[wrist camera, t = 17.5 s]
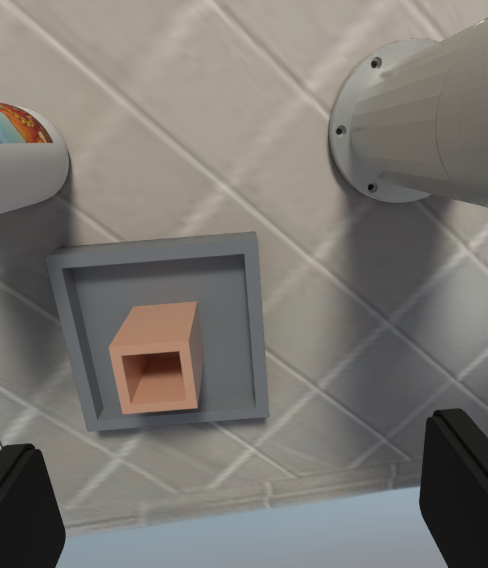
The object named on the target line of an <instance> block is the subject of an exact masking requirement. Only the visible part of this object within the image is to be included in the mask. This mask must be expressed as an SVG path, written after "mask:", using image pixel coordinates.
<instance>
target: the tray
mask: <svg viewBox="0 0 488 568" xmlns="http://www.w3.org/2000/svg"><path fill="white" fill-rule="evenodd" d="M44 258H45V262H46V266H47V270H48V274H49V278H50V282H51V286H52V290H53V294H54V298H55V302H56V306H57V310H58V314H59V318H60V322H61V326H62V331H63V335H64V339H65V343H66V347H67V351H68V355H69V359H70V363H71V367H72V371H73V375H74V379H75V383H76V387H77V391H78V395H79V399H80V403H81V407H82V411H83V415H84V419H85V423H86V427H87V431H88V432H90V431H102V430H114V429H126V428H139V427H151V426H163V425H175V424H188V423H200V422H212V421H224V420H237V419H249V418H261V417H269V408H268V393H267V377H266V362H265V347H264V332H263V316H262V301H261V286H260V270H259V255H258V240H257V235H256V232H244V233H232V234H219V235H207V236H195V237H182V238H170V239H157V240H145V241H132V242H120V243H107V244H95V245H82V246H70V247H58V248H57V249H55V250H53V251H52V252H50V253H48V254H47V255H45V256H44ZM196 301H197V303H198V312H199V320H200V328H201V336H202V344H203V352H204V363H203V371H202V378H201V386H200V394H199V401H198V408H192V409H180V410H168V411H156V412H143V413H131V414H122V409H121V404H120V400H119V395H118V390H117V385H116V380H115V376H114V371H113V366H112V361H111V357H110V352H109V346H110V344H111V342H112V341H113V339H114V338H115V336H116V334H117V333H118V331H119V329H120V328H121V326H122V324H123V323H124V321H125V320H126V318H127V316H128V315H129V313H130V311H131V310H132V308H133V307H135V306H147V305H159V304H172V303H184V302H196Z"/></svg>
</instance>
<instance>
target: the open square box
mask: <svg viewBox="0 0 488 568" xmlns="http://www.w3.org/2000/svg"><path fill="white" fill-rule="evenodd" d="M109 352H110V357H111V361H112V366H113V371H114V376H115V380H116V385H117V390H118V395H119V400H120V404H121V409H122V414H131V413H143V412H156V411H168V410H180V409H192V408H198V401H199V394H200V386H201V378H202V371H203V363H204V352H203V344H202V336H201V328H200V320H199V312H198V303H197V301H196V302H184V303H172V304H159V305H147V306H135V307H133V308H132V310H131V311H130V313H129V315H128V316H127V318H126V320H125V321H124V323H123V324H122V326H121V328H120V329H119V331H118V333H117V334H116V336H115V338H114V339H113V341H112V342H111V344H110V346H109Z"/></svg>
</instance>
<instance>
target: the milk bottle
mask: <svg viewBox="0 0 488 568" xmlns="http://www.w3.org/2000/svg"><path fill="white" fill-rule="evenodd" d="M68 169H69V157H68V152H67V148H66V145H65V143H64V140H63V138H62V137H61V135H60V133H59V132H58V130H57V129H56V128H55V127H54V126H53V124H52V123H51V122H49V121H48V120H47V119H46V118H45V117H43V116H42V115H40V114H38V113H37V112H34V111H32V110H30V109H27V108H23V107H19V106H14V105H9V104H4V103H0V214H2V213H5V212H9V211H12V210H15V209H19V208H22V207H26V206H29V205H33V204H36V203H39V202H42V201H44V200H47V199H49V198H51V197H52V196H54V195H55V194H56V193H57V192H58V191H59V190H60V189H61V187H62V186H63V184H64V182H65V180H66V178H67V174H68Z"/></svg>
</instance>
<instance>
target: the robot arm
mask: <svg viewBox="0 0 488 568" xmlns="http://www.w3.org/2000/svg"><path fill="white" fill-rule="evenodd" d="M371 62H374V63H375V65H376V66H375V68H372V67H371ZM338 128H340V129H341V133H340V134H339V135H338V134H337V133H336V130H337V129H338ZM329 140H330V147H331V152H332V155H333V158H334V161H335V164H336V166H337V167H338V169H339V171H340V173H341V174H342V176H343V177H344V178H345V179H346V180H347V182H348V183H349V184H350V185H351V186H352V187H354V188H355V189H356V190H358V191H359V192H360V193H362V194H364V195H366V196H368V197H370V198H373V199H376V200H379V201H382V202H389V203H406V202H413V201H416V200H420V199H424V198H426V197H428V196H430V195H432V194H434V195H438V196H442V197H446V198H450V199H454V200H459V201H463V202H467V203H471V204H475V205H479V206H483V207H488V18H486V19H484V20H482V21H480V22H478V23H476V24H474V25H472V26H470V27H468V28H466V29H464V30H462V31H461V32H459V33H457V34H455V35H453V36H451V37H449V38H447V39H445V40H443V41H441V42H439V41H435V40H431V39H424V38H410V39H405V40H400V41H396V42H393V43H391V44H388V45H386V46H383V47H381V48H380V49H378V50H376V51H375V52H373V53H371V54H370V55H369V56H368V57H366V58H365V59H364V60H363V61H361V62H360V63H359V64H358V65H357V66H356V67H355V68H354V69H353V71H352V72H351V73H350V74H349V75H348V76H347V78H346V80H345V81H344V83H343V84H342V86H341V88H340V89H339V91H338V94H337V96H336V99H335V101H334V104H333V107H332V112H331V116H330V122H329ZM369 184H371V185H372V188H371V189H370V190H368V185H369ZM419 504H420V510H421V514H422V517H423V519H424V521H425V523H426V525H427V527H428V529H429V530H430V533H431V535H432V536H433V538H434V540H435V542H436V544H437V546H438V548H439V550H440V552H441V554H442V556H443V558H444V560H445V562H446V564H447V566H448V568H488V438H487V437H486V436H485V434H484V433H483V432H482V431H481V430H480V429H479V428H478V426H477V425H476V424H475V423H474V422H473V421H472V420H471V418H470V417H469V416H468V415H467V414H466V413H465V412H464V411H463V410H462V409H459V408H458V409H445V410H436V411H435V412H434V413H433V417H429V418H428V419H427V422H426V432H425V443H424V454H423V465H422V476H421V487H420V499H419ZM65 537H66V534H65V528H64V525H63V521H62V518H61V515H60V511H59V508H58V505H57V501H56V498H55V495H54V491H53V488H52V485H51V481H50V478H49V475H48V471H47V468H46V465H45V461H44V458H43V455H42V452H41V451H40V450H39V449H35V447H34V446H33V445H32V444H17V445H6V446H4V447H3V448H2V449H1V450H0V568H55V567H56V564H57V562H58V559H59V557H60V555H61V553H62V550H63V547H64V544H65Z"/></svg>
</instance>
